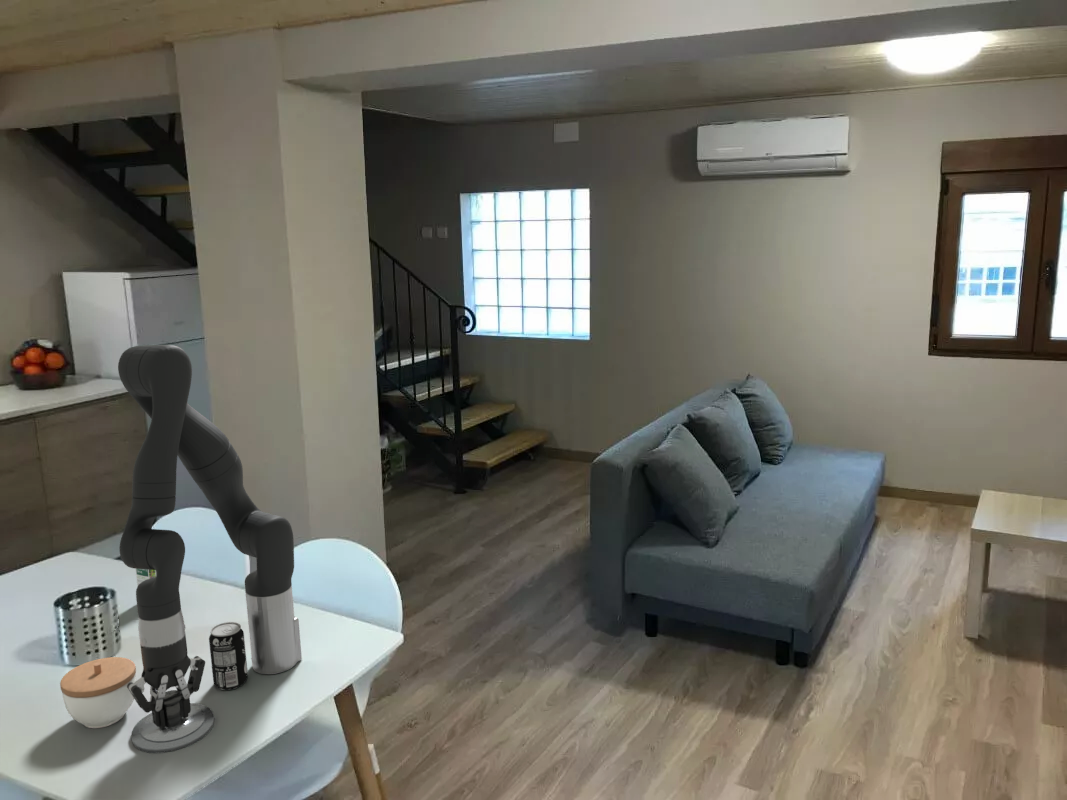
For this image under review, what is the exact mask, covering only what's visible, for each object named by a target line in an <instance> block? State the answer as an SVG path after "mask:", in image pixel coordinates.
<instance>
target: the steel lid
mask: <svg viewBox="0 0 1067 800" xmlns="http://www.w3.org/2000/svg"><path fill="white" fill-rule="evenodd" d="M181 700H182V693H181V691H178V690H177V689H172V690H168V691H167V690H166V692H165V698H163V704H162V709H163V710H164V718H165V727H164V728H162V729H161V728H160V727H157V726H156V725H155V724H154V723H153V717H152V712H149V714H147V715H145V716H144V717H142V718H141V719H140V720H138V722H137V723H136V724H135V725H134V727H133V728H132V730H131V741H132V744H133V746H134V748H136V749H137V750H138V751H141V752H145V753H149V754H150V753H151V754H152V753H153V754H158V753H159V754H161V753H162V754H163V753H168V752H173V751H177V750H182V749H185V748H187V747H189V746H192V745H193V744H194V745H195V744H197V742H199V741H200V740H202V739H203V738H205V737H206V736H207V735H208V734H209V733H210V732H211V731H212V729H213V727H214V726H215V715H214V711H213V710H212V708H210V707H208V706H206V705H205V704H200V703H193V702H190V706H191V711H190V713H188V715H189V716H188V717H186V718H183V717H182V712H181V703H180V701H181Z"/></svg>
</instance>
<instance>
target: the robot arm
mask: <svg viewBox="0 0 1067 800" xmlns="http://www.w3.org/2000/svg"><path fill="white" fill-rule="evenodd" d="M117 369H118V370H117V372H118V375H119V379H120V382H121V383H122V385H123V387H124V389H125V390H126V391H127V392H128V394H129V395H130V396H131V397H132V398H133V399H134V400H135V402H136V403H137V404H138V405H139V406H140V408H141V409H142V410H143V411H144V412H145V413H146V414H147V415H148V416H149V418H150V420H151V421H150V425H149V428H148V430H147V433H146V435H145V438H144V440H143V443H142V445H141V447H140V449H139V451H138V453H137V455H136V459H135V461H134V464H133V465H134V466H133V470H132V483H131V484H132V486H131V488H132V489H131V491H132V492H131V506H130V510H129V512H128V514H127V515H128V516H127V519H126V523H125V525H124V529H123V531H122V535H121V538H120V540H119V541H120V542H119V549H118V550H119V555H120V558H121V560H122V563H123V564H124V565H125V566H126V567H128V568H131V569H135V570H136V569H149V570H156V577H154V578H150V579H147V580H145V581H143V582H141V583H140V584H139V585H137V587H136V590H135V598H136V599H135V600H136V606H137V616H138V623H137V624H138V625H137V626H138V636H139V644H140V645H139V646H140V653H141V661H142V666H143V669H142V673H141V675H140V676H141V677H140V678H138V679H136V682H134V683H133V682H130V683H129V684H128V685H127V688H128V690H129V691H130V693H131V694H132V696H133V697H134V701H135V702H136V703H137V705H138V707H139V708H140V709H142V710H143V711H144V712H145V714H146V713H147V714H148V713H152V717H153V723H154V724H155V725H156V726H157V727H160V728H161V729H162V728H164V727H165V718H164V710H163V709H162V704H163V698H165V692H167V690H168V691H169V689H171V688H174V687H175V690H178V691H181V693H182V700H181V701H180V703H181V712H182V717H183V718H186V717H188V716H189V715H188V713H190V711H191V706H190V703H191V699H190V697H191V695H192V694H194V693H197V692H198V691H200V687H201V683H202V678H203V674H204V671H205V666H206V661H205V660H204V659H203V658H202V657H200V656H198V655H195V656H194V657H193V658H191V657H189V656H188V645H187V644H188V643H187V636H186V624H185V619H184V615H183V611H182V605H181V596H180V583H181V577H182V570H183V565H184V560H185V555H186V545H185V542H184V539H183V537H182V535H180V534H179V533H178V532H176V531H175V530H169V529H156V528H152V527H153V524H154V522H155V519H156V518H157V517H164V516H168V515H170V514H171V513H173V512H174V511H175V508H176V502H177V501H176V498H177V497H176V496H177V495H176V494H177V493H176V492H177V468H178V466H177V465H178V464H177V463H178V459H179V461H180V462H181V463H182V465H183V466H184V468H185V469H186V471H187V472H188V474H189V476H191V478H192V479H193V482H194V483H195V484H197V486H198V488H199V489H200V490H201V492H202V493H203V495H204V496H205V498H206V499H207V501H208V502H209V504H210V505H211V506H212V507H213V509H214V510H215V512H216V514H217V515H218V517H219V519H220V521H221V523H222V525H223V527H224V528H225V531H226V533H227V535H228V536H229V538H230V541H231V542H232V544H233V546H234V547H235V548H236V549H237V550H238V551H239V552H240V553H242V554H243V555H246V556H249V557H252V558H256V560H255V561H256V570H253V571H252V572H250V573H248V574H247V575H246V577H245V579H244V589H245V590H244V591H245V602H246V613H247V620H248V631H249V632H248V633H249V634H248V635H249V643H250V645H249V646H250V654H251V655H250V656H251V658H250V659H251V664H252V665H251V666H252V669H253V671H254V672H255V673H257V674H261V675H274V674H275V675H276V674H279V673H284V672H286V671H288V670H291V669H292V668H293V667H294V666H296V665H297V664H298V662H300V661H301V660H302V659H303V657H302V645H301V634H300V631H301V630H300V620H299V618H298V617H296V616H295V609H294V608H295V607H294V597H293V586H292V585H293V584H292V578H293V574H294V570H295V547H294V546H295V544H294V543H295V542H294V532H293V527H292V525H291V523H290V522H289V520H288V519H287V518H285V517H283V516H281V515H276V514H273V513H269V512H266V511H263V510H261V509H259V508H258V506H257V505H256V504H255V503H254V502H253V500H252V499H251V497H250V496H249V495H248V493H247V491H246V489H245V487H244V471H243V470H244V469H243V464H242V463H243V462H242V461H241V458H240V456H239V455H238V453H237V451H236V449H235V448H234V446H233V445H232V443H231V441H230V440H229V439H228V437H227V436H226V434H225V433H224V432H223V431H222V430H221V428H219V427H218V426H217V425H216V424H215V423H213V421H211V420H209V419H208V418H207V417H206V416H204V415H203V414H202V413H200V412H199V411H197V410H196V409H195V408H194V407H192V406H191V405H190V404H189V403H188V400H189V396H190V390H191V385H192V376H193V366H192V361H191V359H190V357H189V355H188V353H187V352H186V351H185V350H184V349H182V348H181V347H180V346H177V345H173V344H141V345H134V346H131V347H128V348H127V349H126V350H124V351H123V352H122V353H121V355H120V357H119V360H118V364H117ZM189 669H190V670H189ZM188 670H189V671H190V672H189V675H188V679H187V680H188V681H186V678H185V676H186V674H187V672H188ZM145 684H147V685H148V686H150V688H149V695H150V698H149V701H148V700H147V698H146V696H145V695H144V692H145Z"/></svg>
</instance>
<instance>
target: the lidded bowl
mask: <svg viewBox="0 0 1067 800" xmlns="http://www.w3.org/2000/svg"><path fill="white" fill-rule="evenodd" d="M136 673H137V666H136V664H135V662H134V661H133V660H131V659H129V658H127V657H120V656H114V657H111V656H109V657H104V658H103V657H102V658H97V659H94V660H90V661H87V662H84V663H82V664H80V665H77V666H76V667H73V668H72V669H70V670H69V671H68V672H67V673H65V674H64V676H62V678H61V680H60V681H59V684H60V685H59V686H60V690H61V694H62V701H63V703H64V705H65V708H66V711H67V712H68V714H69V715H70V717H71V718H72V719H73V720H74V721H76V722H77V723H79V724H81V725H83V726H84V727H85V728H88V729H100V728H106V727H108V726H112V725H113V724H116V723H117V722H119V721H121V720H122V719H123V718H124V717H125V714H126V713H127V711H128V710H129V709H130V708H131V706H132V704H133V703H134V701H135V699H134V697H133V696H132V694H131V693H130V691H129V690H128V688H127V685H128V684H129V683H130V682H133V683H134V682H136V681H137V674H136Z"/></svg>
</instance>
